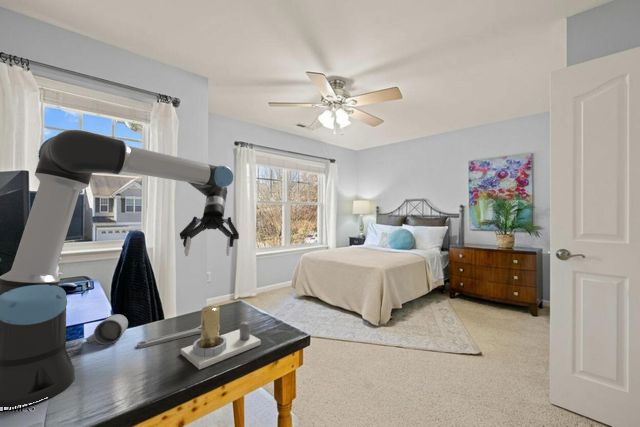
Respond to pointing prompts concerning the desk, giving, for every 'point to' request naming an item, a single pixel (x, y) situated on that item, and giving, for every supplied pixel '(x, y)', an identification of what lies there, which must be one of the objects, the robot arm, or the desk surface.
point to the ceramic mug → (109, 330)
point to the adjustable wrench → (169, 337)
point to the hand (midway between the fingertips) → (207, 253)
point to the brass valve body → (210, 327)
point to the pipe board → (221, 347)
